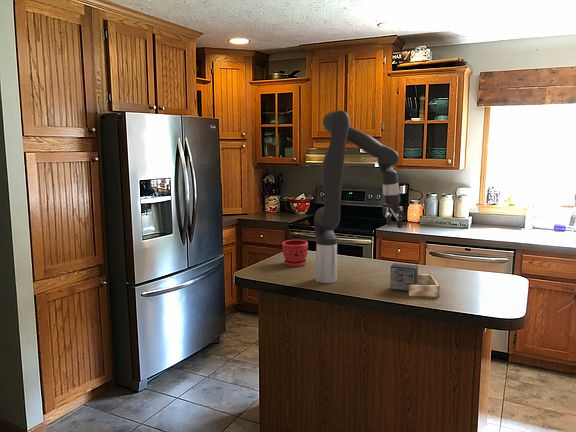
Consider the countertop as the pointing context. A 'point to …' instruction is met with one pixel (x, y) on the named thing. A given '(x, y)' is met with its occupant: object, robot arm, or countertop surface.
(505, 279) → the countertop surface
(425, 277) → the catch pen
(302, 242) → the plant pot
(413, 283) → the small box
